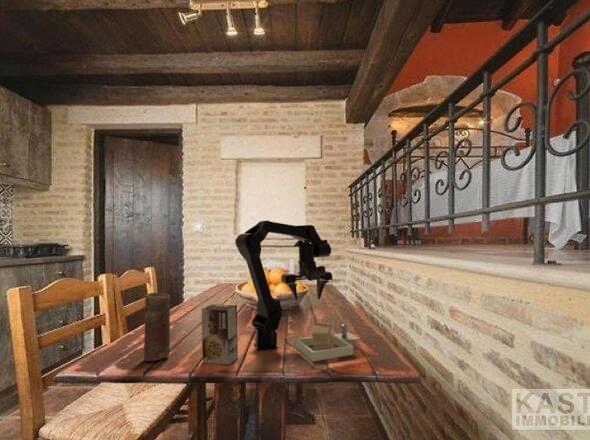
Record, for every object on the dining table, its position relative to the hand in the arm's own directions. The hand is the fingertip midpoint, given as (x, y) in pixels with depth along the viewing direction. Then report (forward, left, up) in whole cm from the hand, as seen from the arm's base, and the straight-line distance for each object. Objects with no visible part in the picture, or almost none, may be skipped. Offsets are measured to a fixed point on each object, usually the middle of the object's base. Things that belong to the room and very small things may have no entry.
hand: (307, 300), depth 126 cm
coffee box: (-34, -11, -13) cm, 38 cm away
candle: (-52, -2, -13) cm, 54 cm away
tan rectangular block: (-3, -19, -12) cm, 23 cm away
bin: (-3, -19, -13) cm, 24 cm away
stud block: (+10, -9, -13) cm, 19 cm away
